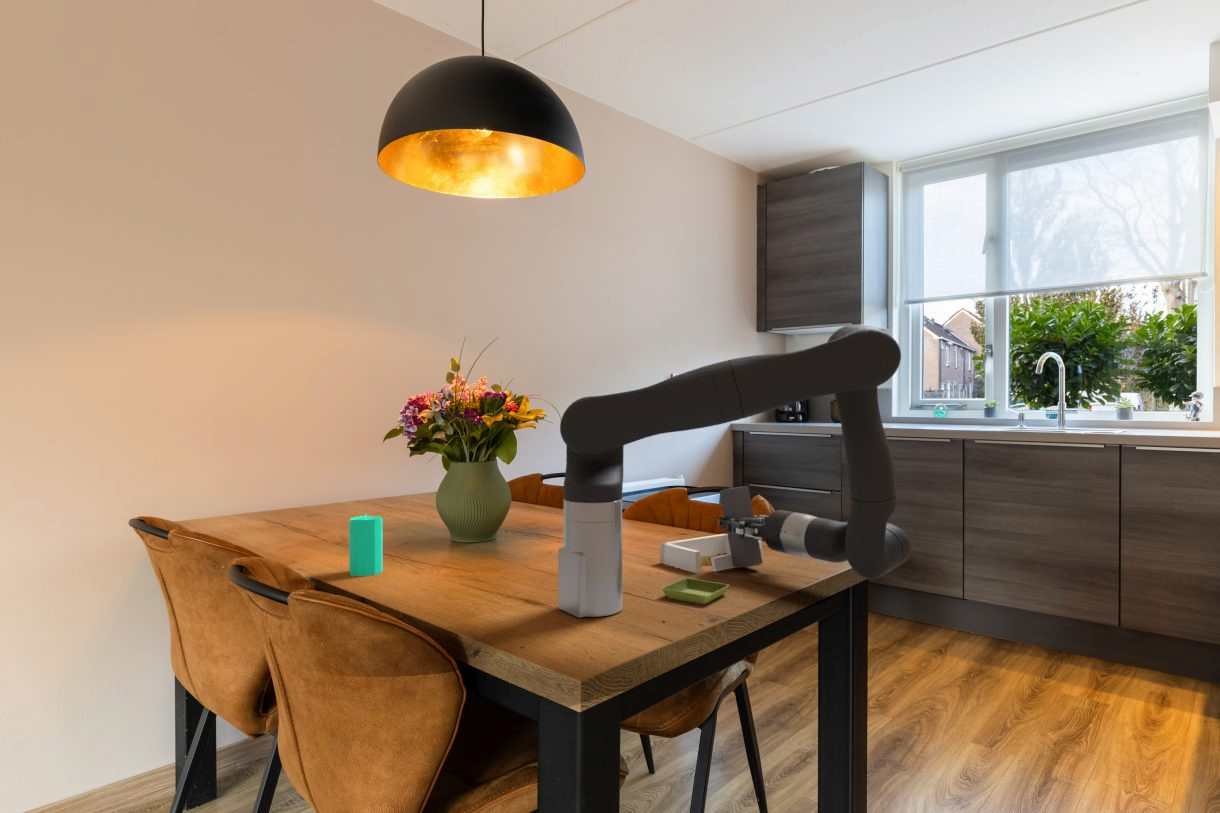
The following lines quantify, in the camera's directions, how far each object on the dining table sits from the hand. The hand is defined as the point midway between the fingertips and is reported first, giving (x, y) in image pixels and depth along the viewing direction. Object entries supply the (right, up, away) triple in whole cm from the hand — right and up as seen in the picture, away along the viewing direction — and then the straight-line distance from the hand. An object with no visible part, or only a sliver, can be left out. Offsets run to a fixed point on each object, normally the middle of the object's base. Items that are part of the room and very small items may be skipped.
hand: (728, 520), depth 138 cm
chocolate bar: (0, -10, +2) cm, 10 cm away
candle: (-70, -9, -5) cm, 71 cm away
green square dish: (-9, -10, -22) cm, 26 cm away
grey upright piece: (+3, -8, -4) cm, 9 cm away
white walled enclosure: (-3, -9, +3) cm, 10 cm away
